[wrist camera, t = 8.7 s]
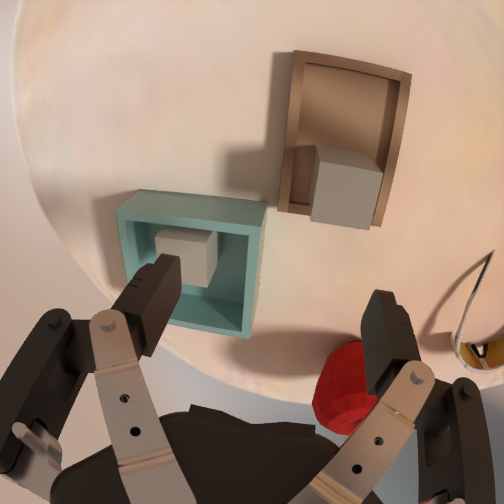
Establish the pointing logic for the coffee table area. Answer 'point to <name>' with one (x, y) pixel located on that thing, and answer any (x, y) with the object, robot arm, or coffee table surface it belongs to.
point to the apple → (343, 390)
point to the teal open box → (228, 268)
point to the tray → (341, 121)
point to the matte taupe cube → (191, 251)
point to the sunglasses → (493, 353)
